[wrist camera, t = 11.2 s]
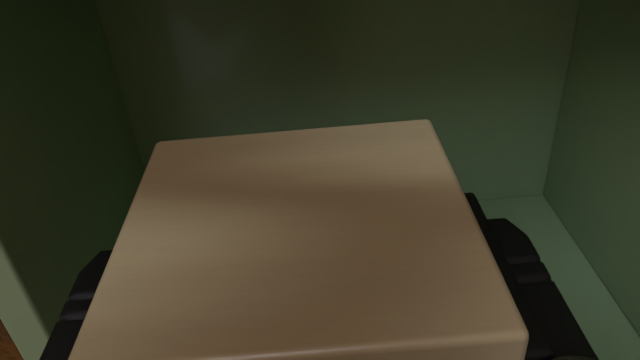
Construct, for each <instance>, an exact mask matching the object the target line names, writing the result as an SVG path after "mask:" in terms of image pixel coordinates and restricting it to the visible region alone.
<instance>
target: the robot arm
mask: <svg viewBox="0 0 640 360" xmlns="http://www.w3.org/2000/svg"><path fill="white" fill-rule="evenodd" d="M464 194H465V196H466V199H467V201H468V203H469V205H470V207H471V209H472V211H473V214H474V216H475V218H476V220H477V222H478V224H479V226H480V229H481V231H482V233H483V235H484V237H485V239H486V242H487V244H488V246H489V248H490V250H491V252H492V254H493V257H494V259H495V261H496V263H497V265H498V267H499V270H500V272H501V274H502V276H503V278H504V280H505V282H506V285H507V287H508V289H509V291H510V293H511V295H512V297H513V300H514V302H515V304H516V306H517V308H518V310H519V313H520V315H521V317H522V319H523V321H524V323H525V325H526V328H527V330H528V332H529V341H528V346H527V350H526V355H525V359H524V360H599V359H598V357H597V356H596V354H595V353H594V351H593V349H592V347H591V346H590V344H589V342H588V340H587V339H586V337H585V335H584V333H583V332H582V330H581V328H580V326H579V325H578V323H577V321H576V319H575V318H574V316H573V314H572V312H571V311H570V309H569V307H568V305H567V303H566V302H565V300H564V298H563V296H562V295H561V293H560V291H559V289H558V288H557V286H556V284H555V282H554V281H551V275H550V274H549V272H548V270H547V268H546V267H545V265H544V263H543V262H541V261H540V256H539V254H538V253H537V251H536V249H535V247H534V246H533V244H532V242H531V240H530V239H529V237H528V235H526V234H525V233H524V232H523V231H521V230H520V229H519V228H518V227H516V226H515V225H514V224H513V223H511V222H510V221H509V220H507V219H506V218H496V219H487V218H486V216H485V214H484V212H483V210H482V208H481V206H480V204H479V202H478V200H477V198H476V196H475V195H474V193H472V192H468V193H464ZM112 251H113V250H106V251H100V252H99V253H98V254H97V255H96V256H95V257H94V258H93V259H92V260H91V261H90V262H89V263H88V264H87V265H86V266H85V267H84V268H83V269H82V270H81V271H80V272H79V274H78V276H77V279H76V281H75V283H74V285H73V287H72V290H71V292H70V294H69V296H68V297H69V301H66V303H65V305H64V307H63V309H62V311H61V313H60V316H59V322H56V324H55V327H54V329H53V331H52V333H51V335H50V337H49V340H48V342H47V344H46V346H45V348H44V350H43V353H42V355H41V357H40V359H39V360H68V358H69V356H70V354H71V351H72V349H73V346H74V344H75V341H76V339H77V336H78V334H79V332H80V329H81V327H82V324H83V322H84V319H85V317H86V314H87V312H88V309H89V307H90V305H91V302H92V300H93V297H94V295H95V292H96V290H97V287H98V285H99V283H100V280H101V278H102V275H103V273H104V270H105V268H106V265H107V263H108V260H109V258H110V256H111V253H112Z"/></svg>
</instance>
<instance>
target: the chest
mask: <svg viewBox="0 0 640 360" xmlns="http://www.w3.org/2000/svg"><path fill="white" fill-rule="evenodd" d="M421 119H427V120H430V121H431V123H432V125H433V128H434V130H435V132H436V134H437V136H438V138H439V140H440V143H441V145H442V147H443V149H444V151H445V153H446V156H447V158H448V160H449V162H450V164H451V166H452V168H453V171H454V173H455V175H456V177H457V179H458V181H459V183H460V186H461V188H462V190H463V192H464V193H468V192H472V193H474V195H475V196H476V198H477V200H478V202H479V204H480V206H481V208H482V210H483V212H484V214H485V216H486V218H487V219H496V218H506V219H507V220H509V221H510V222H511V223H513V224H514V225H515V226H516V227H518V228H519V229H520V230H521V231H523V232H524V233H525V234H526V235H528V237H529V239H530V240H531V242H532V244H533V246H534V247H535V249H536V251H537V253H538V254H539V256H540V261H541V262H543V263H544V265H545V267H546V268H547V270H548V272H549V274H550V275H551V281H554V282H555V284H556V286H557V288H558V289H559V291H560V293H561V295H562V296H563V298H564V300H565V302H566V303H567V305H568V307H569V309H570V311H571V312H572V314H573V316H574V318H575V319H576V321H577V323H578V325H579V326H580V328H581V330H582V332H583V333H584V335H585V337H586V339H587V340H588V342H589V344H590V346H591V347H592V349H593V351H594V353H595V354H596V356H597V357H598V359H599V360H640V0H0V319H1V320H2V322H3V324H4V326H5V327H6V329H7V331H8V332H9V334H10V336H11V338H12V339H13V341H14V343H15V345H16V346H17V348H18V350H19V352H20V353H21V355H22V357H23V359H24V360H39V359H40V357H41V355H42V353H43V350H44V348H45V346H46V344H47V342H48V340H49V337H50V335H51V333H52V331H53V329H54V327H55V324H56V322H59V316H60V313H61V311H62V309H63V307H64V305H65V303H66V301H69V297H68V296H69V294H70V292H71V290H72V287H73V285H74V283H75V281H76V279H77V276H78V274H79V272H80V271H81V270H82V269H83V268H84V267H85V266H86V265H87V264H88V263H89V262H90V261H91V260H92V259H93V258H94V257H95V256H96V255H97V254H98V253H99V252H100V251H106V250H113V248H114V246H115V243H116V241H117V238H118V236H119V234H120V231H121V229H122V226H123V224H124V221H125V219H126V216H127V214H128V211H129V209H130V207H131V204H132V202H133V199H134V197H135V194H136V192H137V189H138V187H139V185H140V182H141V180H142V177H143V175H144V172H145V170H146V167H147V165H148V162H149V160H150V158H151V155H152V153H153V150H154V148H155V145H156V143H158V142H161V141H170V140H182V139H194V138H206V137H218V136H230V135H242V134H254V133H266V132H278V131H290V130H301V129H313V128H325V127H337V126H349V125H361V124H373V123H385V122H397V121H409V120H421Z"/></svg>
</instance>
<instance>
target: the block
mask: <svg viewBox="0 0 640 360" xmlns="http://www.w3.org/2000/svg"><path fill="white" fill-rule="evenodd" d="M528 341H529V332H528V330H527V328H526V325H525V323H524V321H523V319H522V317H521V315H520V313H519V310H518V308H517V306H516V304H515V302H514V300H513V297H512V295H511V293H510V291H509V289H508V287H507V285H506V282H505V280H504V278H503V276H502V274H501V272H500V270H499V267H498V265H497V263H496V261H495V259H494V257H493V254H492V252H491V250H490V248H489V246H488V244H487V242H486V239H485V237H484V235H483V233H482V231H481V229H480V226H479V224H478V222H477V220H476V218H475V216H474V214H473V211H472V209H471V207H470V205H469V203H468V201H467V199H466V196H465V194H464V192H463V190H462V188H461V186H460V183H459V181H458V179H457V177H456V175H455V173H454V171H453V168H452V166H451V164H450V162H449V160H448V158H447V156H446V153H445V151H444V149H443V147H442V145H441V143H440V140H439V138H438V136H437V134H436V132H435V130H434V128H433V125H432V123H431V121H430V120H427V119H421V120H409V121H397V122H385V123H373V124H361V125H349V126H337V127H325V128H313V129H301V130H290V131H278V132H266V133H254V134H242V135H230V136H218V137H206V138H194V139H182V140H170V141H161V142H158V143H156V145H155V148H154V150H153V153H152V155H151V158H150V160H149V162H148V165H147V167H146V170H145V172H144V175H143V177H142V180H141V182H140V185H139V187H138V189H137V192H136V194H135V197H134V199H133V202H132V204H131V207H130V209H129V211H128V214H127V216H126V219H125V221H124V224H123V226H122V229H121V231H120V234H119V236H118V238H117V241H116V243H115V246H114V248H113V251H112V253H111V256H110V258H109V260H108V263H107V265H106V268H105V270H104V273H103V275H102V278H101V280H100V283H99V285H98V287H97V290H96V292H95V295H94V297H93V300H92V302H91V305H90V307H89V309H88V312H87V314H86V317H85V319H84V322H83V324H82V327H81V329H80V332H79V334H78V336H77V339H76V341H75V344H74V346H73V349H72V351H71V354H70V356H69V358H68V360H524V359H525V355H526V350H527V346H528Z"/></svg>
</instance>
